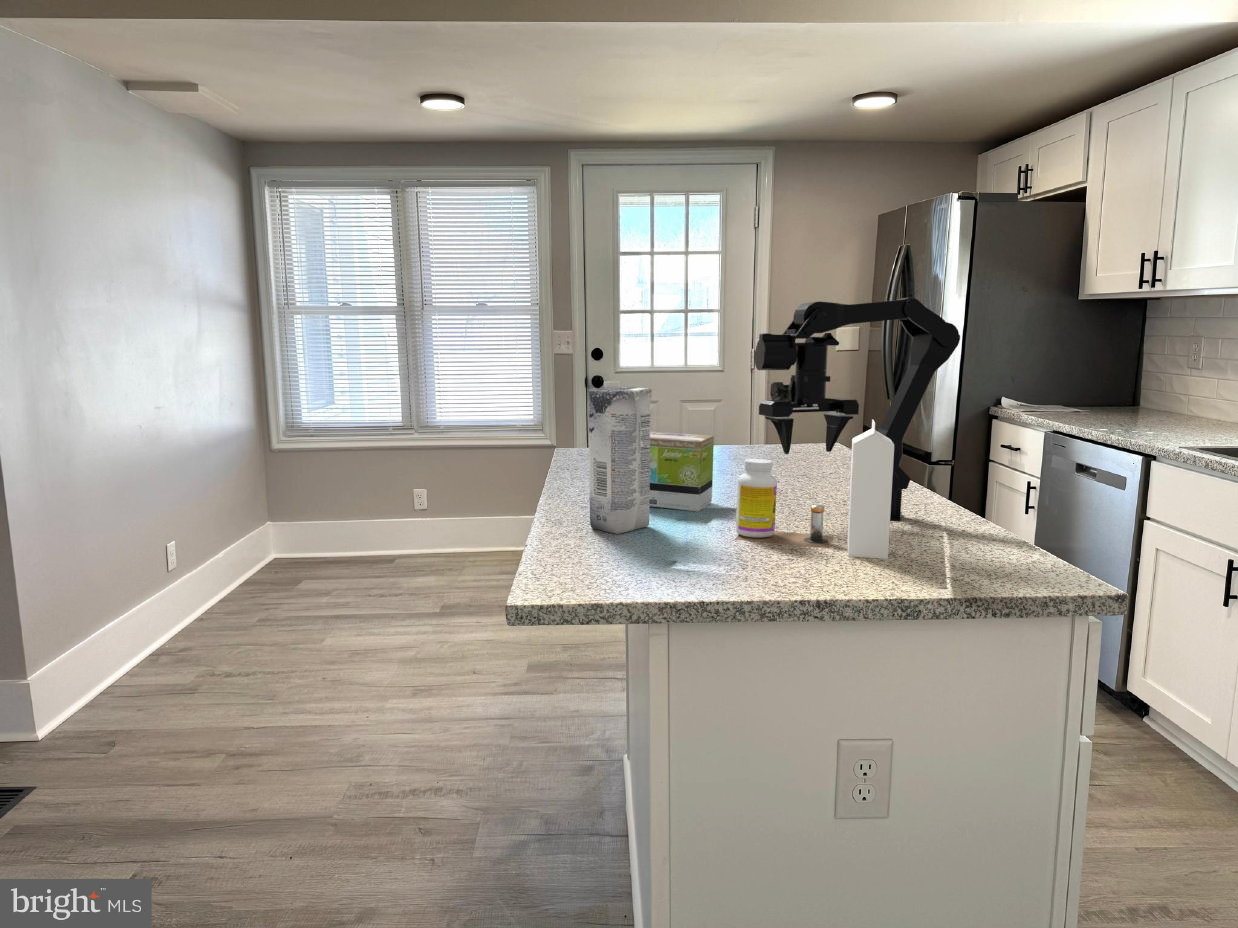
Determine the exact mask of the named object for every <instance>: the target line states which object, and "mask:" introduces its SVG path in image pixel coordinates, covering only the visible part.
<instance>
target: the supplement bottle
mask: <svg viewBox="0 0 1238 928" xmlns="http://www.w3.org/2000/svg"><path fill="white" fill-rule="evenodd" d="M772 468H773V461H772V460H769V459H762V458H761V459H760V458H748V459H745V460H744V470H745V472H744V473H743V474H741V475H740V476H739V477H738V479H737V491H736V492H737V495H736V496H737V497H736V512H735V513H736V515H735V517H736V518H735V532H736V533H737V534H738V535H739V534H740V535H742V536H746V537H754V538H765V537H770V536H772V535H773V534H774V531H776V530H775V528H776V527H775V526H776V510H777V509H776V507H777V490H778V488H777V487H778V481H777V478H776V477H774V475H772V474H771V471H772Z"/></svg>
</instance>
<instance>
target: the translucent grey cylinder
mask: <svg viewBox="0 0 1238 928" xmlns="http://www.w3.org/2000/svg"><path fill="white" fill-rule="evenodd" d="M824 513H825V506H824V505H823V504H819V503H818V504H817V503H815V504H811V506H810V529H809V530H810V531H809V534H810V541H814V542H821V541H822V536H823V534H824V533H823V531H824Z"/></svg>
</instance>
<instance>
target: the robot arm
mask: <svg viewBox="0 0 1238 928" xmlns="http://www.w3.org/2000/svg"><path fill="white" fill-rule="evenodd" d="M792 318H793V319H792V321H791V322H790V323H789V324H788V326H787V327H786V329H785V330H784V331H783V332H782V334H774V333H773V334H772V333H765V332H764V333H759V335H758V336H759V337H758V341H757V343H756V347H755V350H754V353H753V357H754V359H753V360H754V364H755V368H756V370H758V371H790V370H791V367H792V366H795V373H794V374H791V377H790V380H789V381H790V382H789V384H784V382H782V381H777V382H776V381H775V382H772V383H770V390H769V392H770V399H762V401H761V402H760V404H759V405H758V415H759V416H764V419H765V420H766V421H767V420H768V421H770V422H771V423H772V424H773V426H774V428H775V430H776V432H777V435H778V437H779V442H780V444H781V448H782V451H783V453H784V454H785V455H789V454H790V450H791V445H792V444H791V443H792V437H793V427H794V418H790V417H791V415H792V414H795V413H819V412H821V413H822V412H823V413H824V414H823V417H824V420H825V421H826V429H825V431H826V432H825V451H826V452H827V453H831V452H832V451H833V448H834V446H835V444H836V443H837V441H838V439H839V437H840V436H841V434H842V432H843V430H844V428H845V427H847V424H848V423H849V421H850V420H853V419H854V415H860V408H861V407H860V404H859V401H858V399H855V398H849V397H848V398H847V397H826V393H827V391H826V390H827V382H828V383H831V375H828V374H827V372H828V371H827V369H828V349H829V348H828V347H831V346H839V345H840V341H838V340H837V339H836V337H834V336H833V334H832V333H831V332H830V331H833V330H836V329H837V330H838V329H840V328H842V327H845V326H849V325H852V324H853V325H854V324H862V323H863V324H864V323H865V324H866V323H875V322H886V321H894V320H898V321H899V323H900V324H901V325H902V328H903V329H904V331H905V332H906V333H907V334H908V335H909V336H910V337H911V338H912V342H911V345H910V363H909V365H908V367H907V370H906V372H905V374H904V375H903V378H902V380H901V382H900V385H899V387H898V389H897V390H896V392H895V394H894V398H893V399H892V402H891V404H890V406H889V407H888V410H887V412H886V413H885V416H884V418H883V420H882V422H881V424H880V426H879V428H878V429H877V430H876V431H877V432H879V433H881V434H882V435H884V436H886V437H887V438H889V439H891V441H892V442H893V444H894V459H893V477H892V495H891V513H890V521H902V515H903V514H902V501H903V500H902V498H903V490H907V489H908V487H909V485H910V483H911V477H910V476H909V475H908V474H907V473H906V472H905V471H904V470H903V469H902V468H901V467H900V465H901V463H902V458H903V442H904V441H903V440H904V437H905V435H906V433H907V431H908V429H909V427H910V424H911V423H912V421H913V420H914V419H913V418H914V416H915V415H916V412H917V411H918V410H917V409H918V408H919V406H920V405H921V402H922V400H923V397H924V396H925V393H926V391H927V389H928V387H929V385H930V383H931V381H932V378H933V376H934V374H935V373H936V372H937V370H939V368H941V367H942V366H943V365H944V364H945V363H946V362H947V361H948V360H949V359H950V358H951V356H952V355H953V353H955V351H956V349H957V348H958V346H959V344H960V341H961V334H960V332H959V330H958V328H957V326H956V325H954V324H953V323H951V322H948V321H946V320H944V319H943V317H941V315H939V314H937V313H935V312H933V311H932V310H931V309H929V308H927V306H925V305H924V304H923V303H922V302H921V301H920V300H919V299H917V298H915V297H902V298H898V299H894V300H883V301H873V302H865V303H864V302H863V303H854V304H853V303H852V304H851V303H850V304H846V303H839V302H832V301H831V302H829V301H811V302H804V303H802V304H800V305H798V306H797V307H796V309H795V310H794V313H793V317H792ZM814 334H823V335H822V336H813V335H814ZM798 339H800V340H801V339H803V340H804V339H805V340H804V342H796V340H798ZM825 412H827V413H825Z"/></svg>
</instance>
